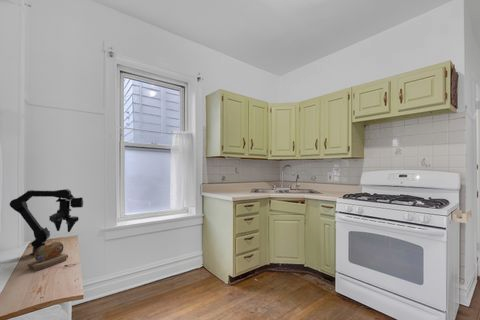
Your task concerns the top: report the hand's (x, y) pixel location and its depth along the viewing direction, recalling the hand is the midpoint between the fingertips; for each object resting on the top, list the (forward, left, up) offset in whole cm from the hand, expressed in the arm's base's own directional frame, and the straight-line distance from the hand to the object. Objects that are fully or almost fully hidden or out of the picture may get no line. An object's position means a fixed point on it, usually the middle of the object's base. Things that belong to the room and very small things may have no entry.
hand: (63, 231), depth 161 cm
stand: (+13, -19, -13) cm, 27 cm away
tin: (+13, -19, -10) cm, 25 cm away
